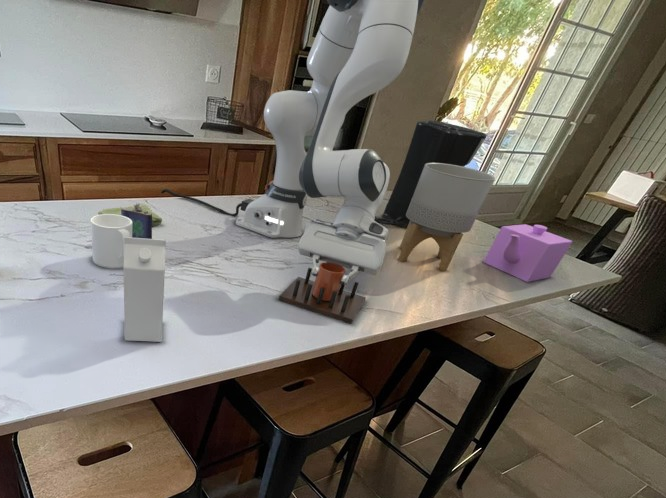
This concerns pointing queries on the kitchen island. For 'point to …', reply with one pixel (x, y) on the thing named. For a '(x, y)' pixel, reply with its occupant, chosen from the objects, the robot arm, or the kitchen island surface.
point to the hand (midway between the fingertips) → (328, 279)
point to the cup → (328, 279)
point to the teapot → (527, 251)
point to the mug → (109, 239)
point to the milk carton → (143, 288)
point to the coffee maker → (429, 147)
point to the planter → (444, 208)
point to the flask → (139, 221)
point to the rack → (337, 307)
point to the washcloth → (155, 218)
